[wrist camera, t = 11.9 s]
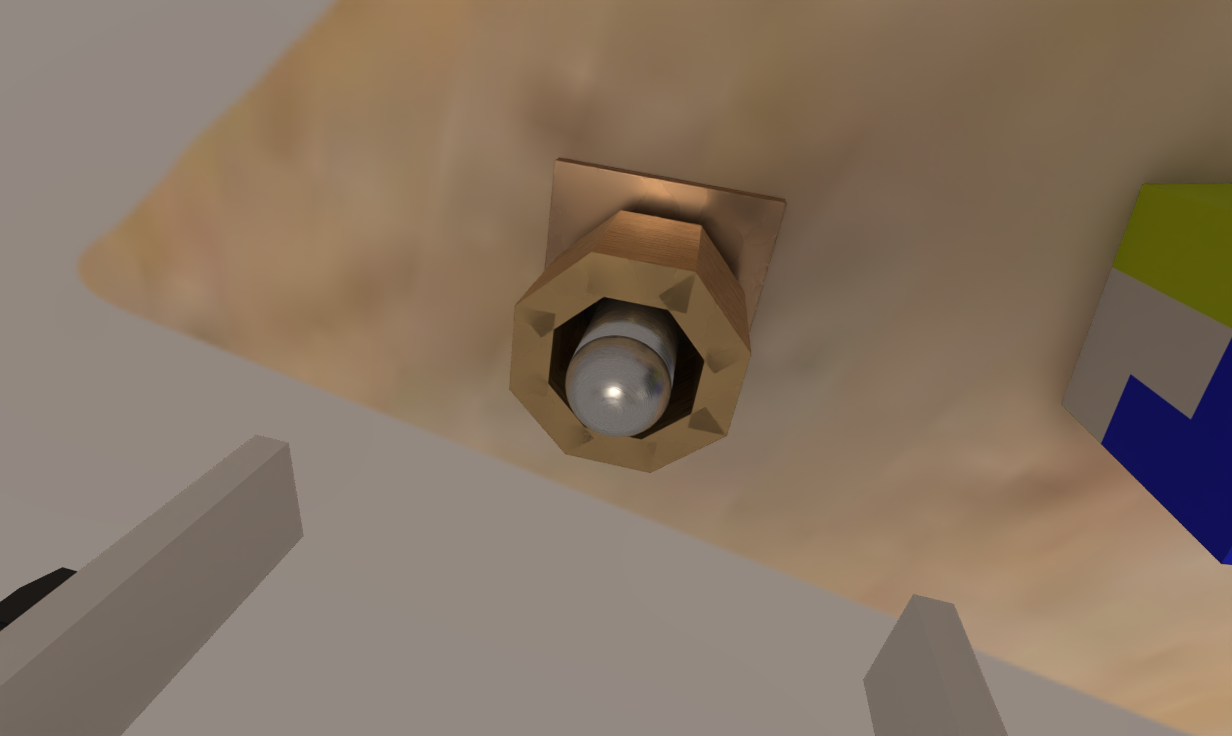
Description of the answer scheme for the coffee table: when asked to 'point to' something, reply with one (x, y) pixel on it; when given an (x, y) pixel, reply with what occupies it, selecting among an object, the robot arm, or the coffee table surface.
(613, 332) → the peg on square base
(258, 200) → the coffee table surface
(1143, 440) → the puzzle toy
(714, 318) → the ring
